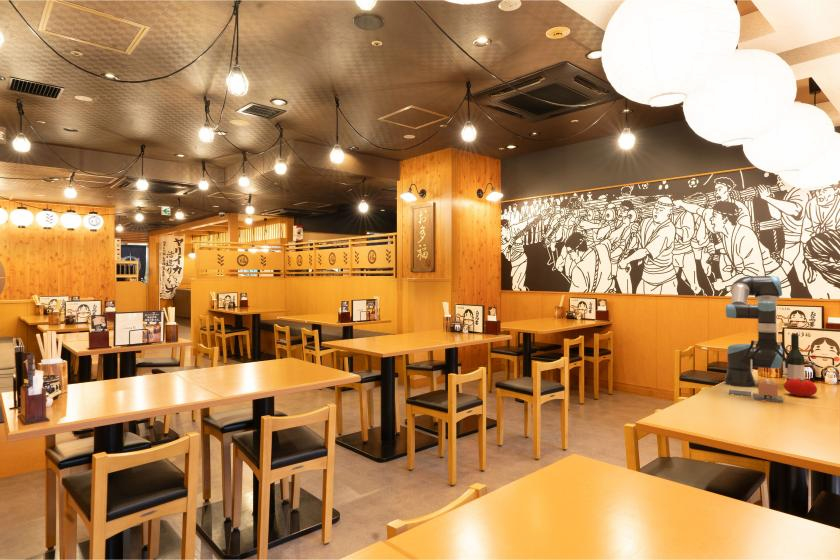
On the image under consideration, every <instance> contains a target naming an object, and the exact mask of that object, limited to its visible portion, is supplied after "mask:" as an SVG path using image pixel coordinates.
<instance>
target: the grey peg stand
mask: <svg viewBox="0 0 840 560" xmlns="http://www.w3.org/2000/svg"><path fill="white" fill-rule="evenodd" d="M752 394H753V400H754V401H761V400H765V401H764V402H771V401H773V403H781V404H783V403H784V402H785V401H784V399H783V396H782V395H778V396H769V395H759V393H754V392H753V393H752Z"/></svg>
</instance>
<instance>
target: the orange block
mask: <svg viewBox="0 0 840 560" xmlns="http://www.w3.org/2000/svg"><path fill="white" fill-rule="evenodd" d="M778 387H779V386H778V383H777V382H775V381H770V379H769V378H766V379H765V381H764V380H758V394H759V395H769V396H779V390H778Z"/></svg>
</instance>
